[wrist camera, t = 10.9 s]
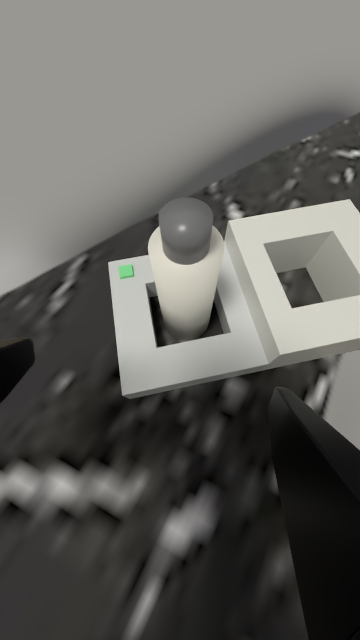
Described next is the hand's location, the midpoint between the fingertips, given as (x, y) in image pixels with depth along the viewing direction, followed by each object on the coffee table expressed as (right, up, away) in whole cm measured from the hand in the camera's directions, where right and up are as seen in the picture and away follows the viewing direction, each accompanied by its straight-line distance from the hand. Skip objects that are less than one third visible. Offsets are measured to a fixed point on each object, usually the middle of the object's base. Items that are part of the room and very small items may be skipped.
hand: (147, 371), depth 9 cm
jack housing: (+7, +3, +14) cm, 16 cm away
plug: (+2, +2, +14) cm, 14 cm away
